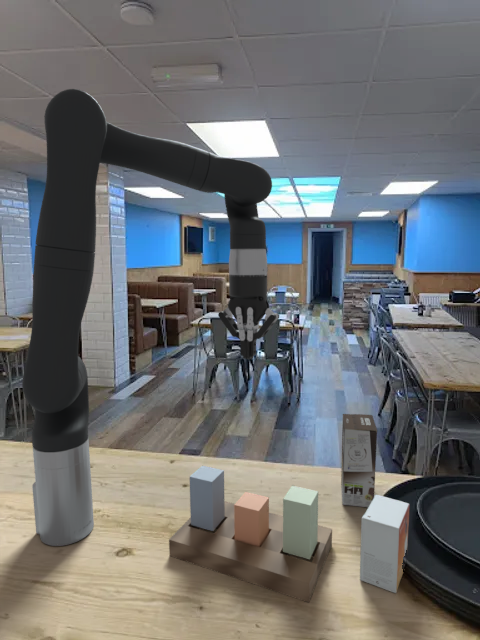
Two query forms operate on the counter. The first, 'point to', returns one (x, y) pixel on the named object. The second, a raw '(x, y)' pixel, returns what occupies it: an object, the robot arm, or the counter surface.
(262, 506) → the terracotta block
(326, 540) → the walnut board
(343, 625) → the counter surface
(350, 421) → the coffee box
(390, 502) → the small box
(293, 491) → the sage block
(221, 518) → the slate block
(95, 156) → the robot arm
